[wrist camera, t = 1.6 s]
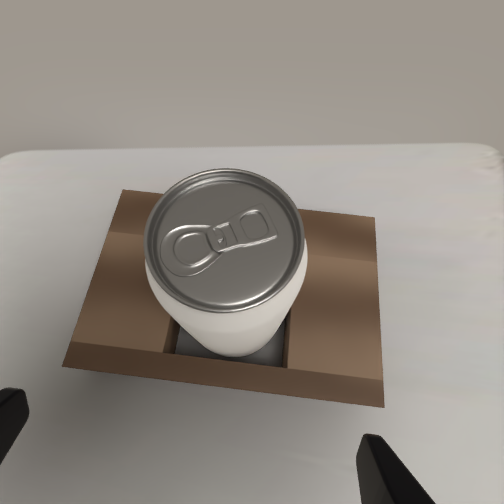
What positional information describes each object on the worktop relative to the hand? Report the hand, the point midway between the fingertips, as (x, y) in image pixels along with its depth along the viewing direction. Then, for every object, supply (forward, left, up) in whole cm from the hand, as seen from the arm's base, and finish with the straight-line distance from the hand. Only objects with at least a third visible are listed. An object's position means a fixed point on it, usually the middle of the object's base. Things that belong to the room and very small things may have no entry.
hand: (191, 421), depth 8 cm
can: (+5, -2, -12) cm, 14 cm away
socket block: (+5, -2, -12) cm, 14 cm away
